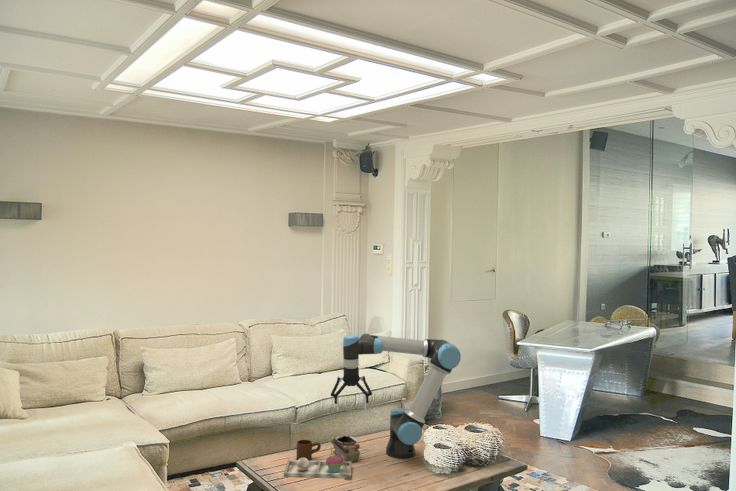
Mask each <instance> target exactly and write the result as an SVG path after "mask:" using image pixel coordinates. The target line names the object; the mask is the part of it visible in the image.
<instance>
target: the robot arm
mask: <svg viewBox="0 0 736 491" xmlns="http://www.w3.org/2000/svg"><path fill="white" fill-rule="evenodd" d="M342 339H343V341H342V347H343V348H342V349H343V350H342V352H343V363H342V364H343V376H342V377H341V376H337V378H336V382H335V384H334V387H333V388H332V390H331V392H330V397H333V398H334V405H336V411H337V412H339V410H340V409H339V408H340V407H339V395H340V394H341V393H342V391H344V389H345V387H347V386H348V387H355V386H356V387H358V389H359V390H360V391H361V392H362V393H363V394H364V396H363V398H364V404H363V405H364V411H367V404H369V400H370V399H369V397H370V396H372V395H373V392H372V389H371V388H370V386H369V385H368V383H367V381H366V376H365V375H363V376H360V370H359V369H360V368H359V366H360V364H359V363H360V360H359V359H360V358H359V357H360V356H361V355H378V354H382V353H383V352H389V353H391V352H392V353H398V354H410V355H418V356H422V357H423V358H427V359H430V360H429V366H430V367H429V369H428V371H427V373H426V375H425V377H424V379H423V380H422V383H421V385H420V387H419V389H418V390H417V393H416V394H415V397H414V399H413V401H412V403H411V404H410V407H409V408H393V409H391V410H390V415H389V417H390V418H389V439H388V442H387V445H386V448H385V454H386V455H387V456H389V457H392V458H396V459H409V458H413V457H414V456H415V455H416V449H415V444H417V443H418V442H419V441H420V440H421V439H422V437H423V428H424V425H425V424H426V421H425V417H426V414H427V413H428V411H429V409H430V407H431V405H432V403H433V401H434V399H435V397H436V396H437V395H436V394H437V393H438V392H439V389H440V387H441V385H442V384H443V382H444V380H445V378H446V376H447V375H450V374H451V372H452V371H453V369H454V368H457V366H458V365H460V362H461V358H462V355H461V351H460V349H459V348H458V347H457V346H456V345H454V344H453V343H451V342H450V341H447V340H444V339H433V338H431V339H430V338H424V339H423V340H421V339H414V338H413V339H411V338H401V337H393V336H382V335H374V334H373V335H372V334H369V333H365V332H364V333H361V334H360V335H359V336H358V335H357V334H346V335H345V336H344V337H343V338H342ZM359 355H360V356H359ZM342 381H343V383H342V384H341V386H340V387H339V385H340V383H341V382H342ZM359 381H361V382H363V384H364V386H365V388H366V390H365V388H364V387H363V386H362V385H361V384H360V382H359ZM338 387H339V389H338ZM337 389H338V390H337ZM336 390H337V391H336Z"/></svg>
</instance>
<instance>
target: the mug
mask: <svg viewBox="0 0 736 491" xmlns="http://www.w3.org/2000/svg"><path fill="white" fill-rule="evenodd" d="M316 446H317V447H316ZM313 447H316V448H313ZM321 448H322V444H321V443H320V442H318V441H314V442H313V441H312V440H310V439H300V440H297V441H296V460H297V461H298V460H299V459H300V458H303V457H304V458H306V459H308V461H312V459H313V458H312V457H313V454H314V453H317V452H319V451H320V450H321Z"/></svg>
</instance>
